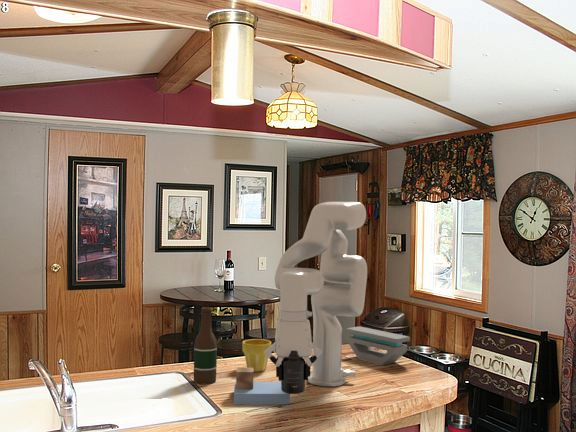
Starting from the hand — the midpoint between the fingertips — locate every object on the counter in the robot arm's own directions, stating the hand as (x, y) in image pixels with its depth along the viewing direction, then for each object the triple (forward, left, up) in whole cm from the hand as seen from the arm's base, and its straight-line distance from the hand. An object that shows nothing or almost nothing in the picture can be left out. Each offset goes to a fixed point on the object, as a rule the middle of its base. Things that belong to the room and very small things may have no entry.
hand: (293, 378), depth 156 cm
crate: (+13, -12, -6) cm, 19 cm away
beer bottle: (+26, -28, -9) cm, 39 cm away
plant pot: (+9, -43, -9) cm, 44 cm away
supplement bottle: (0, 0, -4) cm, 4 cm away
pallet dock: (+8, -11, -9) cm, 16 cm away
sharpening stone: (-37, -56, -9) cm, 68 cm away
